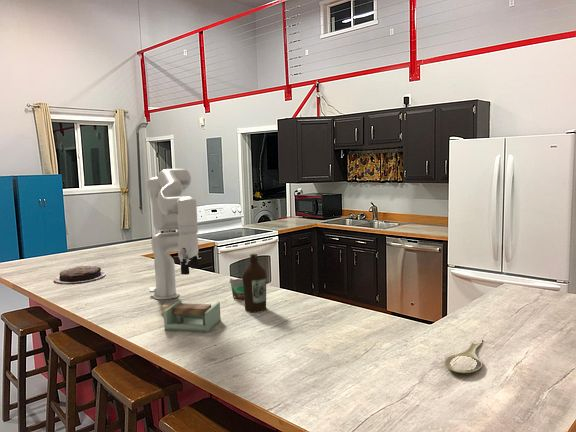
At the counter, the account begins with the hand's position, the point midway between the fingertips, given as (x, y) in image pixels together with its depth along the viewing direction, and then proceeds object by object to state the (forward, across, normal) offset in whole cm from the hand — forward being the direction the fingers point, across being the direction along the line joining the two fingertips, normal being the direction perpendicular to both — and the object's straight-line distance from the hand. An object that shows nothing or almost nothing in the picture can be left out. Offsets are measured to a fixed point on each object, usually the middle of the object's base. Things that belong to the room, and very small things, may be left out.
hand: (190, 271), depth 189 cm
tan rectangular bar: (+23, -11, -14) cm, 29 cm away
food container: (+23, -37, +10) cm, 45 cm away
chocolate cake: (+24, -67, -99) cm, 122 cm away
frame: (+22, +1, 0) cm, 22 cm away
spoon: (+22, +17, +104) cm, 108 cm away
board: (+17, 0, 0) cm, 17 cm away
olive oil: (+23, -22, +20) cm, 38 cm away
